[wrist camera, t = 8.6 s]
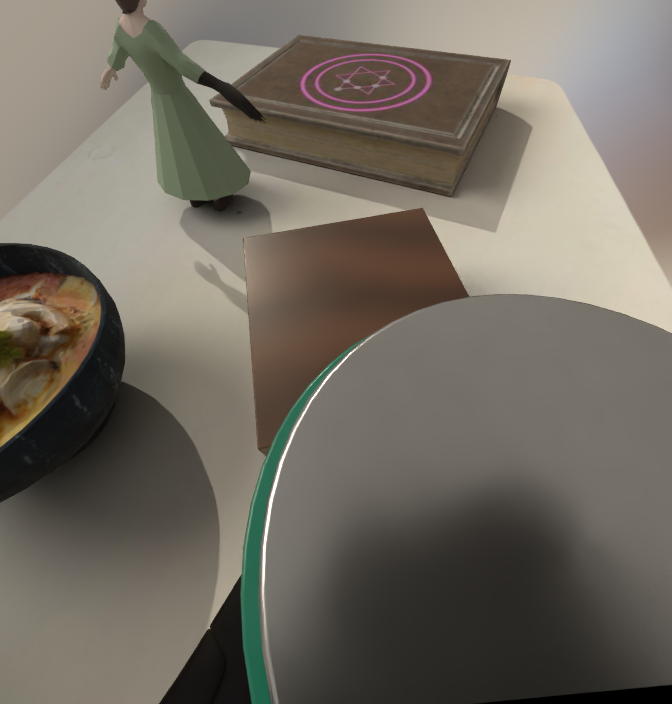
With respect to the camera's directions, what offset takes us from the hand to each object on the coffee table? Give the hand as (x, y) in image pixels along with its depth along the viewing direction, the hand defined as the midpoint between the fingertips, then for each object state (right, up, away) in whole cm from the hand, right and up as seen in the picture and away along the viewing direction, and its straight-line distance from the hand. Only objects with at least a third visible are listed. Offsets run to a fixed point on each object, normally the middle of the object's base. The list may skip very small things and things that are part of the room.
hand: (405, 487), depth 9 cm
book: (+2, +34, +36) cm, 50 cm away
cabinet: (0, +3, +18) cm, 18 cm away
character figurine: (-15, +21, +29) cm, 38 cm away
